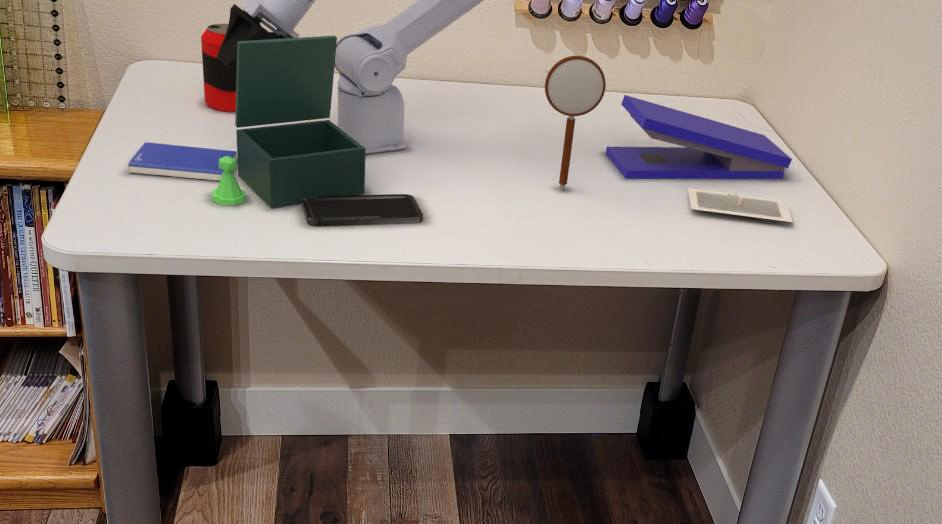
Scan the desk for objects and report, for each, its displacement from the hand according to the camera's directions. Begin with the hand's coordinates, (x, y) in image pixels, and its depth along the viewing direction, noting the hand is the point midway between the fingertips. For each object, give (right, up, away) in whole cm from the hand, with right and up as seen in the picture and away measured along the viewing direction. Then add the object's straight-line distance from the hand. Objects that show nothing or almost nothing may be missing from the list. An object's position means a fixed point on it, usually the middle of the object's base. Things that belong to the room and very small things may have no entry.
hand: (234, 69), depth 143 cm
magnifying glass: (+45, -15, +11) cm, 48 cm away
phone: (+18, -20, -4) cm, 28 cm away
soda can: (-9, 0, +24) cm, 25 cm away
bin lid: (+8, -2, -3) cm, 9 cm away
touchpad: (+71, -18, +13) cm, 74 cm away
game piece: (+1, -19, -6) cm, 19 cm away
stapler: (+66, -9, +27) cm, 72 cm away
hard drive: (-7, -13, +1) cm, 15 cm away
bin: (+9, -16, +1) cm, 18 cm away
